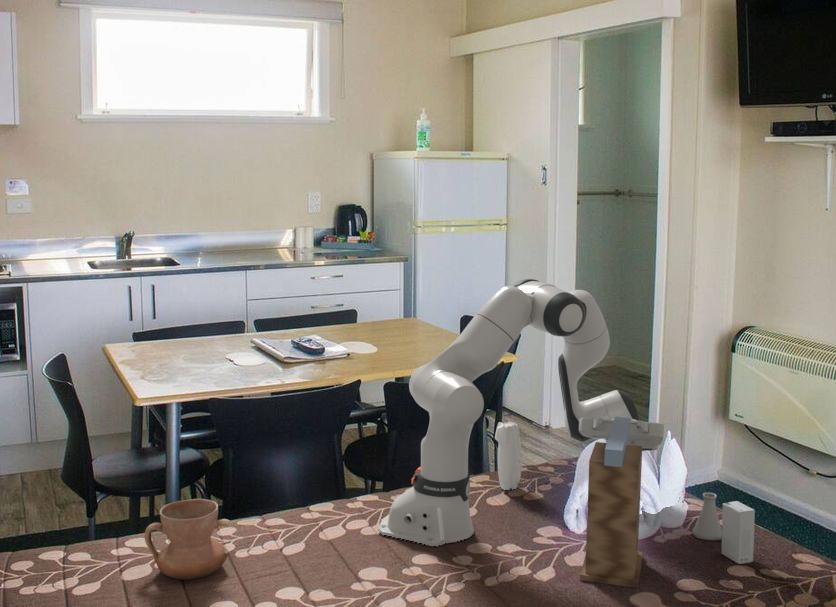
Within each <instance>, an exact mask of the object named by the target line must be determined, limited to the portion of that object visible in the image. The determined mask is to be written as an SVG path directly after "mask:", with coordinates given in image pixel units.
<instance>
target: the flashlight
mask: <svg viewBox="0 0 836 607" xmlns="http://www.w3.org/2000/svg"><path fill="white" fill-rule="evenodd" d="M520 435H521V432H520V429H519V427H518V424H517V423H515V422H513V421H507V422H501V421H499V422H498V423H497V426H496V430H495V435H494V440H496V441H497V442H498V448H497V473H498V481H499V482H498V483H499V486H500V487H501V488H502V489H505V490H509V491H510V490H511V491H512V490H513V489H515V490H516V489H517V488H518V484H519V483H520V481H521V476H522V460H523V455H522V443H521V437H520ZM501 488H500V489H501ZM502 489H501V490H502ZM513 491H514V490H513Z"/></svg>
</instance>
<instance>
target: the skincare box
mask: <svg viewBox="0 0 836 607" xmlns="http://www.w3.org/2000/svg"><path fill="white" fill-rule="evenodd" d="M755 514H756V510H755V509H754V508H752V507H750V506H748V505H746V504H743V503H742V502H740V501H738V500H735V501H729V502H724V503H722V518H721V519H722V521H721V523H722V524H721V529H722V539H721V554H722V555H724V556H725V557H726V558H728V559H729V560H731V561H734V562H735V563H736V564H738V565H744V564H748V563H752V562H754V549H755V548H754V547H755V522H756V521H755Z"/></svg>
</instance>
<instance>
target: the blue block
mask: <svg viewBox="0 0 836 607" xmlns="http://www.w3.org/2000/svg"><path fill="white" fill-rule="evenodd" d="M630 421H631V418H625V417H615V418H614V421H613V424H612V428H611V431H610V434H609V437H608V440H607V444H606V447H605V459H604V466H615V467H622V464H623V460H624V456H625V452H626V447H627V443H628V439H629V435H630Z"/></svg>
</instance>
